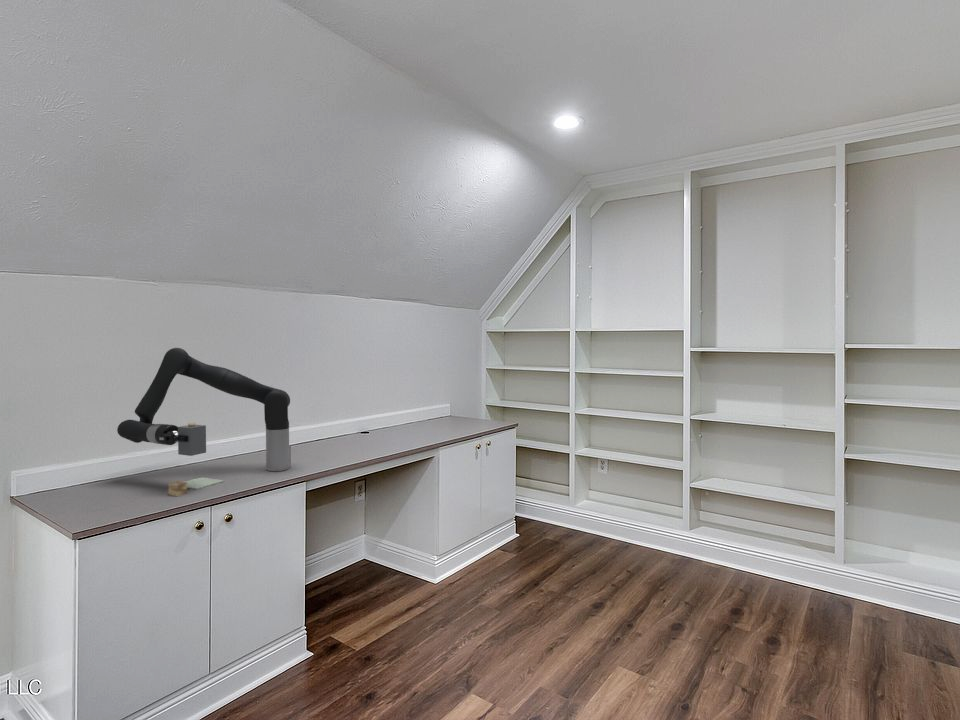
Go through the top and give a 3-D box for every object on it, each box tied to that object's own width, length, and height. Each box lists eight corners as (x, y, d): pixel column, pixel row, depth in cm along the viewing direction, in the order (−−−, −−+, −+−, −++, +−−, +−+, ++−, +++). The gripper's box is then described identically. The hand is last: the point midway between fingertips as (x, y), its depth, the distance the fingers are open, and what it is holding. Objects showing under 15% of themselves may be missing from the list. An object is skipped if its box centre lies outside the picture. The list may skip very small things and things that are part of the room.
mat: (201, 478, 216) (201, 477, 216) (224, 481, 211) (224, 480, 211) (173, 485, 205) (173, 484, 205) (197, 489, 200) (197, 488, 200)
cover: (193, 451, 206) (193, 421, 205) (206, 452, 203) (205, 422, 203) (178, 454, 200) (177, 424, 199) (191, 455, 197) (190, 425, 197)
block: (178, 492, 197) (178, 481, 197) (186, 493, 195) (186, 482, 195) (168, 495, 193) (168, 483, 193) (176, 496, 191) (176, 485, 191)
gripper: (145, 427, 200) (178, 430, 194) (180, 421, 213) (212, 424, 207) (145, 447, 200) (178, 451, 194) (180, 440, 214) (212, 444, 207)
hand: (195, 437), depth 201 cm, fingers closed on cover, 6 cm apart
